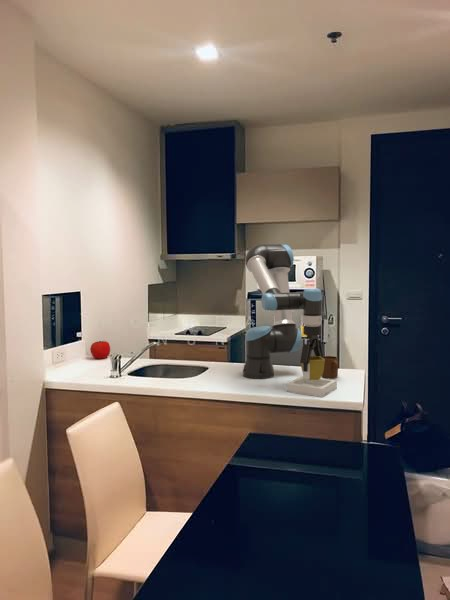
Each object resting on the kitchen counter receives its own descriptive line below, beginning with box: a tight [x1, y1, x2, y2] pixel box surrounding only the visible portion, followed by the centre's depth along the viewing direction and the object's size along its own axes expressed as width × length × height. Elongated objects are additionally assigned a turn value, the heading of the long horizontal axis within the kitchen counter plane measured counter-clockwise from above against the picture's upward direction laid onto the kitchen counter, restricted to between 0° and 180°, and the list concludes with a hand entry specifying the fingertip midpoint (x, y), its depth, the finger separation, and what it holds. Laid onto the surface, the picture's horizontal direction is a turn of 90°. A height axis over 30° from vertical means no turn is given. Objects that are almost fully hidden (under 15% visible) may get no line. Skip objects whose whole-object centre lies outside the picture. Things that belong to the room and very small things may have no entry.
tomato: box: [89, 340, 111, 360], centre depth 289 cm, size 11×13×10 cm
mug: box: [321, 355, 339, 380], centre depth 237 cm, size 12×8×9 cm, turn 13°
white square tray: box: [286, 375, 338, 398], centre depth 216 cm, size 16×16×4 cm
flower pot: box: [299, 355, 325, 380], centre depth 215 cm, size 9×9×9 cm
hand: (312, 376), depth 215 cm, fingers closed on flower pot, 11 cm apart
